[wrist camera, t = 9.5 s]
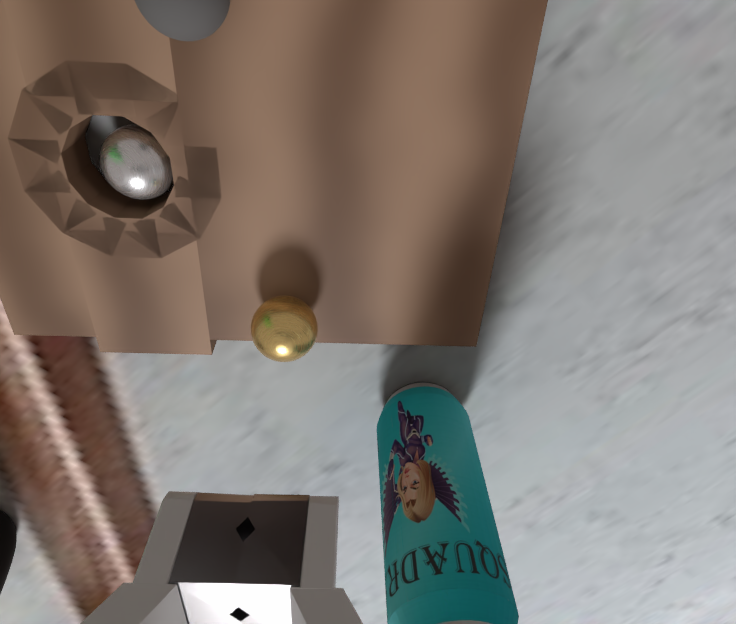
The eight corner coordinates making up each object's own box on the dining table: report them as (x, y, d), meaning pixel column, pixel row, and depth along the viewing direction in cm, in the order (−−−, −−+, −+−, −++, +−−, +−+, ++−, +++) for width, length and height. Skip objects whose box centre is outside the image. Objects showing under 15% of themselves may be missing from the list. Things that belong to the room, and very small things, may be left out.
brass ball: (319, 284, 27) (316, 321, 24) (319, 336, 29) (316, 376, 26) (253, 282, 27) (243, 319, 24) (257, 334, 28) (248, 374, 26)
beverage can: (433, 359, 33) (483, 611, 21) (481, 413, 36) (551, 665, 23) (357, 402, 35) (362, 658, 22) (408, 451, 37) (438, 703, 25)
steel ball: (187, 121, 24) (140, 141, 22) (196, 190, 26) (153, 216, 23) (127, 112, 25) (74, 129, 22) (140, 179, 27) (92, 203, 24)
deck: (545, -90, 21) (567, -94, 19) (465, 333, 32) (473, 361, 30) (-114, -136, 20) (-169, -145, 17) (42, 322, 31) (20, 350, 29)
